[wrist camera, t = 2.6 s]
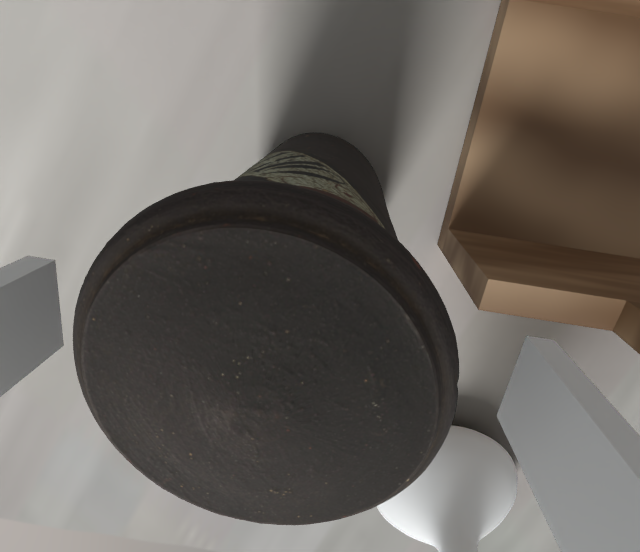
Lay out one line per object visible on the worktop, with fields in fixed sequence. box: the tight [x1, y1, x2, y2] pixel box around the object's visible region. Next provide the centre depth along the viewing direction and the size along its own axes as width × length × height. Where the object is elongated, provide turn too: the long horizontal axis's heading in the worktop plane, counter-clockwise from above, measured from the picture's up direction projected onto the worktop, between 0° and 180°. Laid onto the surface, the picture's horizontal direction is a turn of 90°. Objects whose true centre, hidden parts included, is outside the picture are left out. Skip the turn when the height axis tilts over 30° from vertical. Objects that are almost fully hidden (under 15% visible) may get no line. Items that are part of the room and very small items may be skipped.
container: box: [73, 133, 459, 525], centre depth 18 cm, size 9×9×20 cm
